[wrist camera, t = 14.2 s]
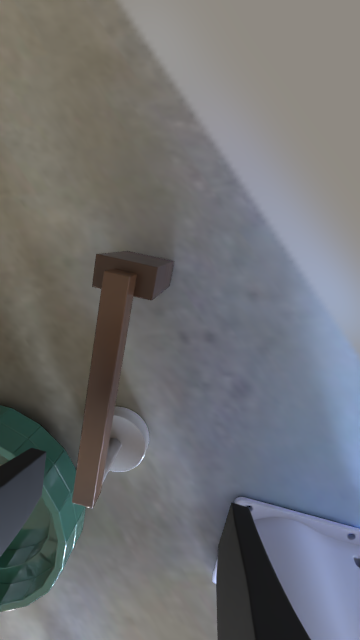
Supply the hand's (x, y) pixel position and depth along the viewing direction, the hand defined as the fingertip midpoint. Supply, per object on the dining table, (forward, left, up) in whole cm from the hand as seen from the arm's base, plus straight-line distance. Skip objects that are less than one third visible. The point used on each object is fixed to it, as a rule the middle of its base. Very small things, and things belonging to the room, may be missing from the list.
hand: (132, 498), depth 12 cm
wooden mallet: (+3, 0, -10) cm, 10 cm away
